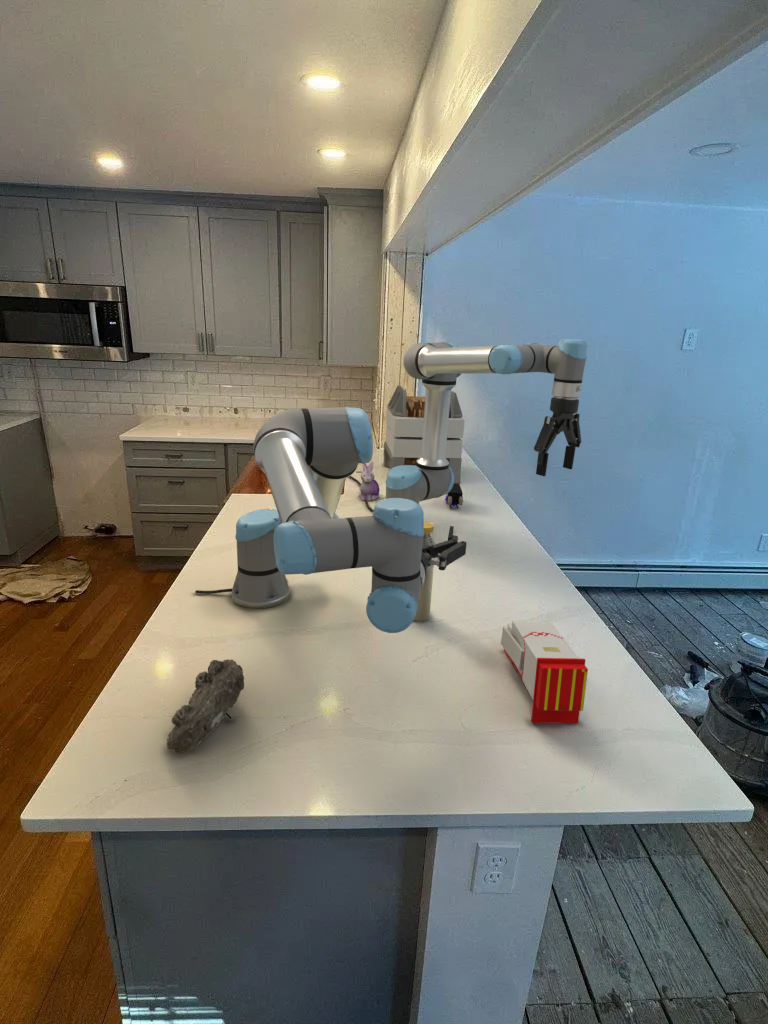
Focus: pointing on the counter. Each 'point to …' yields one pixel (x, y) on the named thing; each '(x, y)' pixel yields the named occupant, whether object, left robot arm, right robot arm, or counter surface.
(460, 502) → the figurine character
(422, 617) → the bottle
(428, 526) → the cap
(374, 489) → the figurine
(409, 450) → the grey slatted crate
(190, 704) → the fossil
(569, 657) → the toy
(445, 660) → the counter surface
